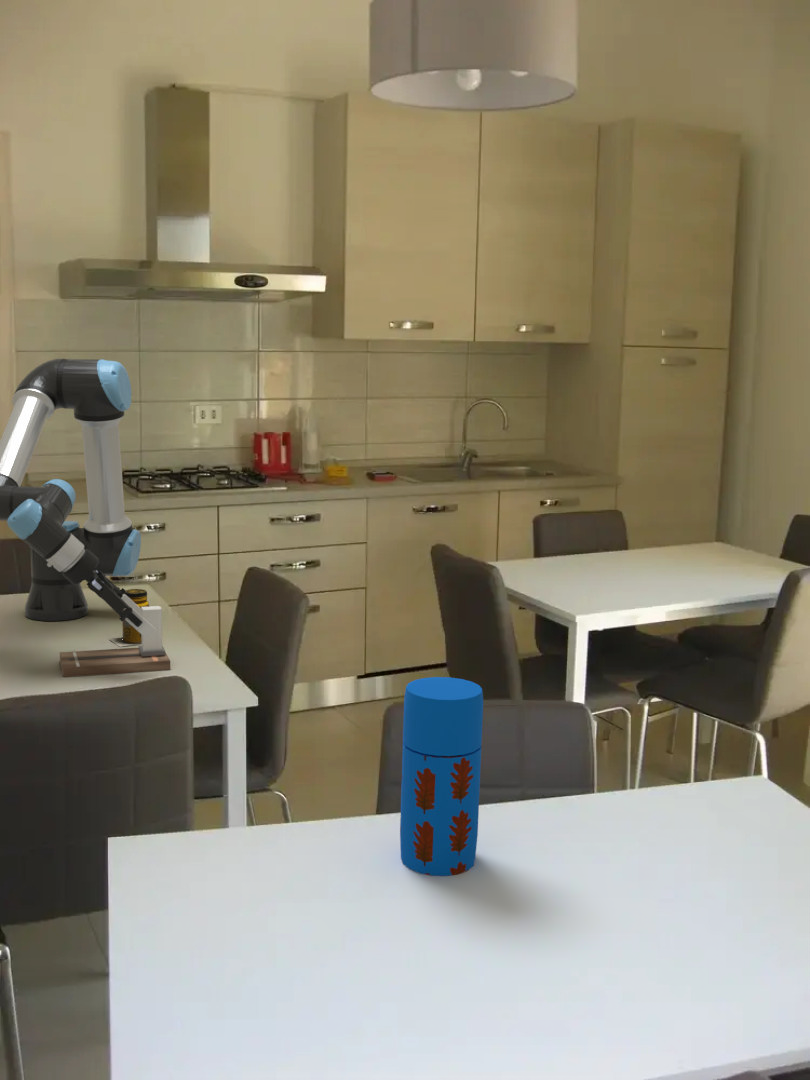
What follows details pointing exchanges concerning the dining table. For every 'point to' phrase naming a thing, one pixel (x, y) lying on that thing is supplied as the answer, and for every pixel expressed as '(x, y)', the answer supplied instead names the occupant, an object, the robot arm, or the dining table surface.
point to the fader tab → (154, 641)
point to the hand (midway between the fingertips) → (146, 625)
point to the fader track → (110, 662)
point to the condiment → (129, 631)
